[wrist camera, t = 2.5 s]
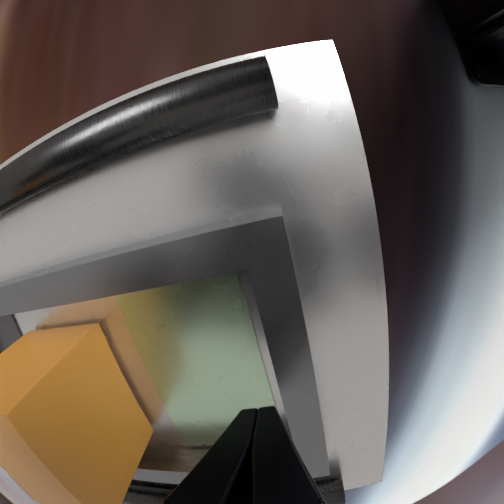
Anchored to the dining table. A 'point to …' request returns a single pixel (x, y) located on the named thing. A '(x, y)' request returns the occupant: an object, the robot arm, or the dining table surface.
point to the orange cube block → (69, 418)
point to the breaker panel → (215, 259)
